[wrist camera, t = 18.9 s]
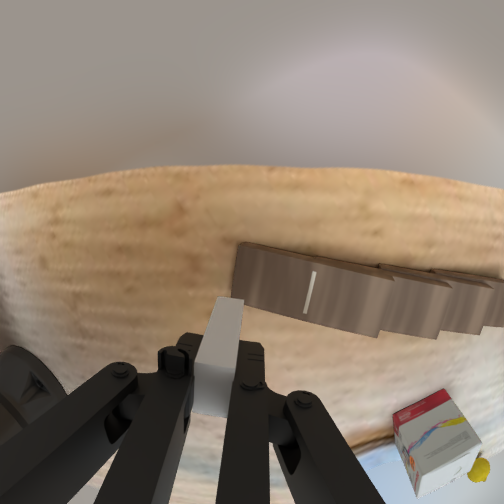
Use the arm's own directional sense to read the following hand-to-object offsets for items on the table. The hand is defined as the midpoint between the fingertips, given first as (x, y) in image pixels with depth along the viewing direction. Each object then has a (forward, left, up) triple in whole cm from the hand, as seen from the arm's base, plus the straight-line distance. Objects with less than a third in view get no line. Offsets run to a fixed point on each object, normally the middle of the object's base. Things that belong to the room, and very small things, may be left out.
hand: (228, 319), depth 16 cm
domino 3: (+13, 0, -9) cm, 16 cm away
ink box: (+28, -19, -10) cm, 35 cm away
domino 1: (0, 0, -9) cm, 9 cm away
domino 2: (+6, 0, -9) cm, 11 cm away
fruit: (+56, -38, -10) cm, 68 cm away
